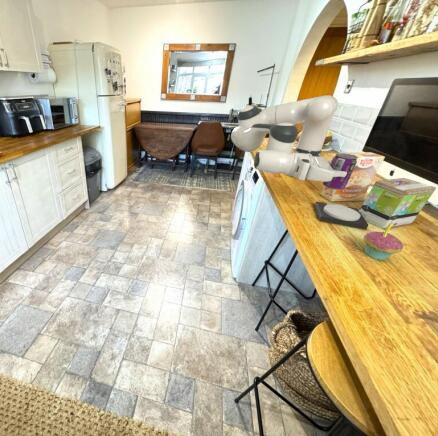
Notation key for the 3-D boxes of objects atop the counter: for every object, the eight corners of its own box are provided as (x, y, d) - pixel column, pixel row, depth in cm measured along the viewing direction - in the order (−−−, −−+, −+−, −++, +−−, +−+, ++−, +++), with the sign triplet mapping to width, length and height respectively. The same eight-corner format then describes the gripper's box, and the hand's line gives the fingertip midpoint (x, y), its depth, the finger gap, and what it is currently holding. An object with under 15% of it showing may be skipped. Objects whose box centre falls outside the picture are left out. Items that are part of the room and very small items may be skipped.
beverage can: (348, 191, 86) (363, 159, 80) (326, 189, 87) (340, 157, 81) (338, 184, 92) (352, 153, 86) (318, 182, 93) (331, 152, 87)
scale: (314, 205, 99) (316, 198, 98) (354, 212, 94) (358, 205, 93) (319, 220, 88) (322, 213, 87) (366, 229, 83) (370, 222, 82)
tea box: (384, 229, 84) (408, 191, 76) (355, 216, 92) (374, 180, 84) (412, 223, 87) (438, 186, 80) (382, 211, 96) (403, 176, 88)
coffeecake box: (331, 201, 102) (351, 156, 92) (319, 195, 108) (337, 152, 99) (363, 200, 104) (386, 156, 94) (349, 194, 110) (370, 151, 100)
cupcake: (383, 267, 66) (407, 231, 60) (350, 249, 73) (369, 215, 67) (400, 259, 69) (424, 224, 63) (367, 243, 76) (386, 210, 70)
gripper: (295, 165, 101) (334, 170, 96) (299, 181, 85) (346, 188, 80) (300, 150, 97) (340, 155, 93) (305, 164, 81) (354, 170, 76)
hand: (343, 170), depth 86 cm, fingers closed on beverage can, 6 cm apart
